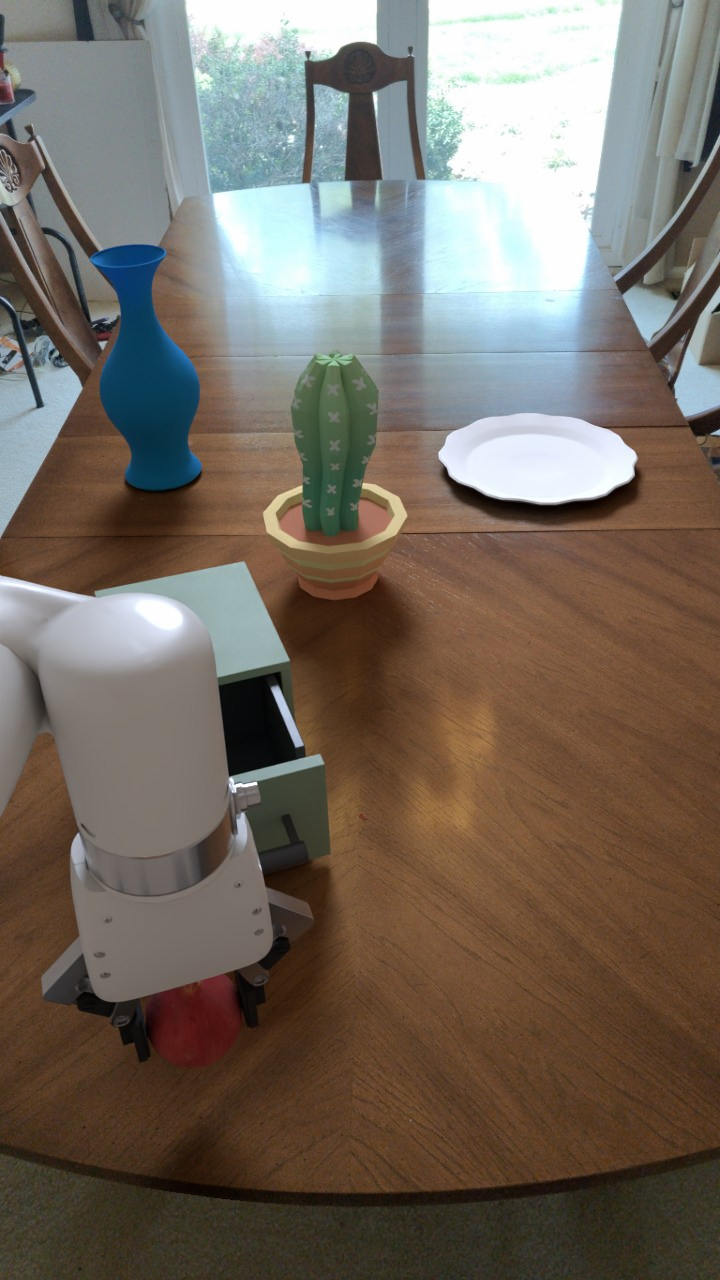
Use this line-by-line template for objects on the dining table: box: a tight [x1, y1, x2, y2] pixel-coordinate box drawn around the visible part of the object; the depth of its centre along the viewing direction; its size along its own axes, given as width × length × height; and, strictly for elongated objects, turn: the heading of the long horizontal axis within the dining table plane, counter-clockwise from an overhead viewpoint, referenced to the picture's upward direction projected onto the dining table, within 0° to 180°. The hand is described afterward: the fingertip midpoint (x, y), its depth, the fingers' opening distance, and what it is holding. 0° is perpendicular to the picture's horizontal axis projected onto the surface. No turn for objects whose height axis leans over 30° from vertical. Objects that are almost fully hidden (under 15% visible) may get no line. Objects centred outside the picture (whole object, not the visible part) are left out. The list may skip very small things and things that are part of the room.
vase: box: [89, 243, 203, 492], centre depth 120 cm, size 12×13×28 cm
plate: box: [438, 412, 639, 507], centre depth 127 cm, size 25×25×2 cm
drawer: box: [218, 673, 332, 876], centre depth 76 cm, size 19×12×10 cm, turn 19°
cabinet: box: [94, 560, 297, 725], centre depth 86 cm, size 16×14×12 cm
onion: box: [144, 973, 243, 1069], centre depth 59 cm, size 6×6×8 cm
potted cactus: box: [262, 349, 409, 601], centre depth 101 cm, size 15×15×25 cm
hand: (195, 1021), depth 60 cm, fingers closed on onion, 5 cm apart
